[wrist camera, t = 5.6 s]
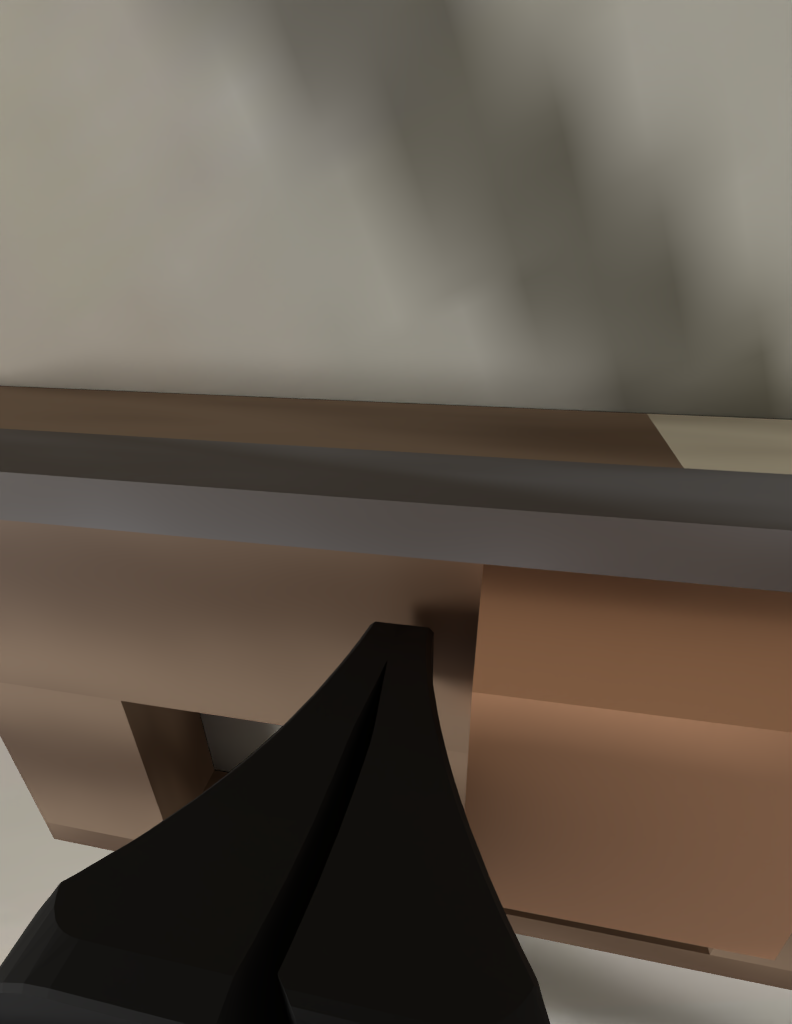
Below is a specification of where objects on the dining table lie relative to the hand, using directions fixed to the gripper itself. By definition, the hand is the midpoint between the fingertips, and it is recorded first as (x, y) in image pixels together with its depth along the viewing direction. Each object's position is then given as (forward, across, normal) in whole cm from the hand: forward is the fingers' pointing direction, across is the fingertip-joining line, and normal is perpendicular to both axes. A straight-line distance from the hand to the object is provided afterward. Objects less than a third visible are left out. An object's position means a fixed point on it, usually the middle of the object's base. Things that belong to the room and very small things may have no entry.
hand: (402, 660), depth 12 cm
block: (+1, -4, 0) cm, 4 cm away
